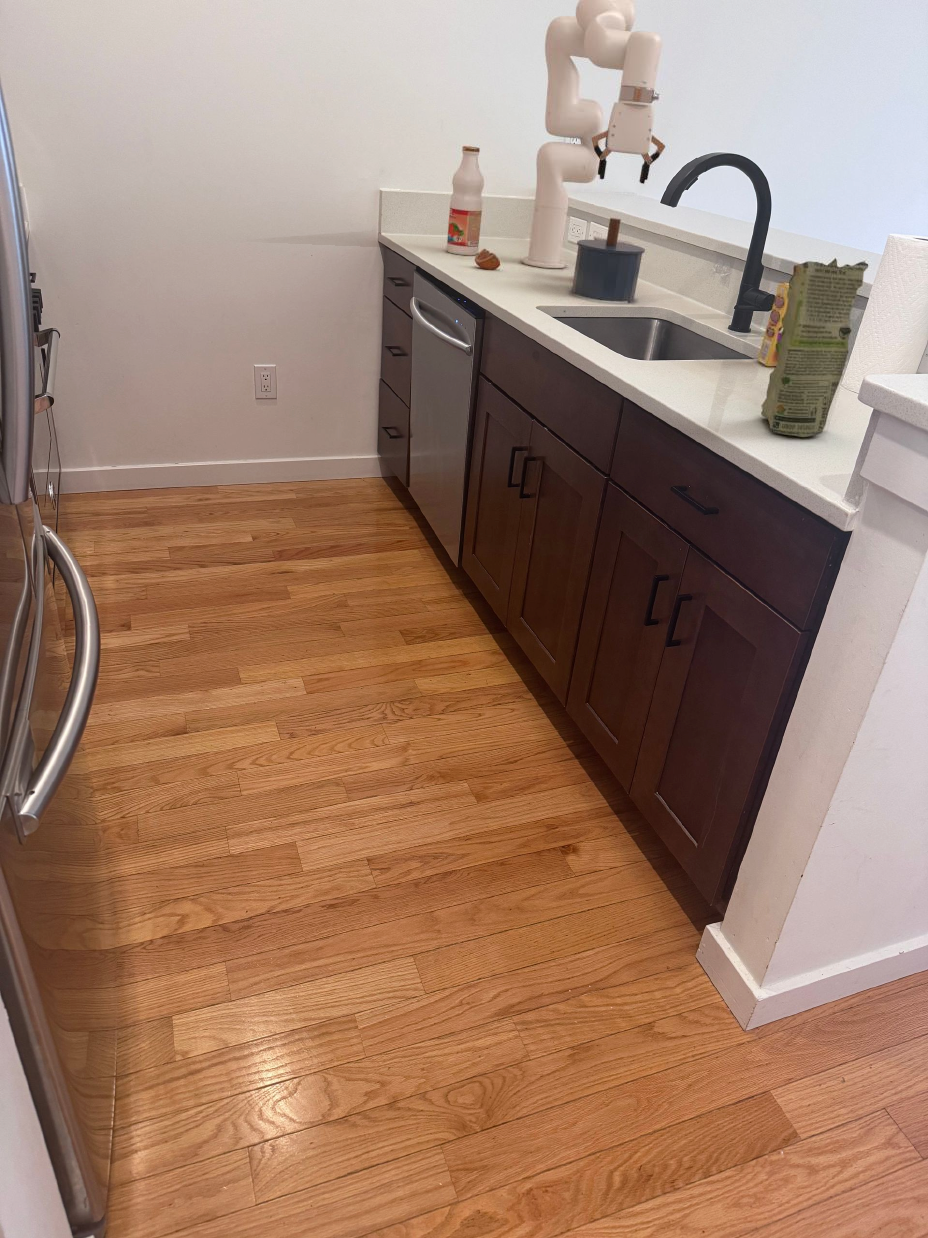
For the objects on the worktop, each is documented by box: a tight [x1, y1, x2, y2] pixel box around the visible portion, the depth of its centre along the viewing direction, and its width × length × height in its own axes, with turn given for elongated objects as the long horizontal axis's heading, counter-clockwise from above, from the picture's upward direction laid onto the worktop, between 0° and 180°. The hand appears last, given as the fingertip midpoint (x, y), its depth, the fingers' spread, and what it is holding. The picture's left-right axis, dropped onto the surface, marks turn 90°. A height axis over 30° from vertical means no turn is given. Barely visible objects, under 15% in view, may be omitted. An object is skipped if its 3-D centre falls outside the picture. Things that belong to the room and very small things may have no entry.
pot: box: [571, 245, 643, 304], centre depth 218 cm, size 16×16×12 cm
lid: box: [576, 217, 646, 255], centre depth 213 cm, size 17×17×7 cm
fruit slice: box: [474, 248, 501, 271], centre depth 237 cm, size 8×7×5 cm
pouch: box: [760, 257, 869, 438], centre depth 132 cm, size 11×12×25 cm
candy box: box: [757, 281, 789, 367], centre depth 171 cm, size 9×4×15 cm, turn 103°
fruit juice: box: [446, 145, 485, 256], centre depth 254 cm, size 9×9×28 cm
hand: (621, 180), depth 207 cm, fingers open, 9 cm apart
